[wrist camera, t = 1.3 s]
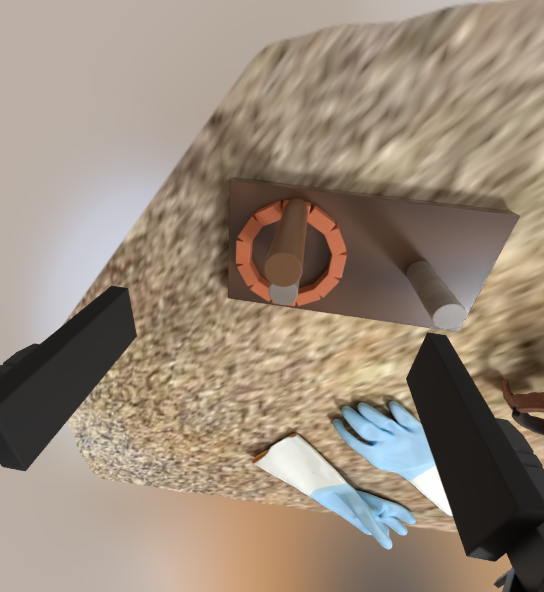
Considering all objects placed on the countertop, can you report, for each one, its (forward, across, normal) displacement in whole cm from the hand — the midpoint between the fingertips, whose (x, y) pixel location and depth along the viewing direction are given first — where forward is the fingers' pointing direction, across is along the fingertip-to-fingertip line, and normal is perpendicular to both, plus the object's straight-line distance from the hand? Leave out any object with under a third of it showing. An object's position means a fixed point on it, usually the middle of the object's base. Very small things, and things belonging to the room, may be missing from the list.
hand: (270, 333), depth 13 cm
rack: (+20, +6, -4) cm, 21 cm away
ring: (+18, 0, -4) cm, 18 cm away
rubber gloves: (+20, +19, -41) cm, 50 cm away
